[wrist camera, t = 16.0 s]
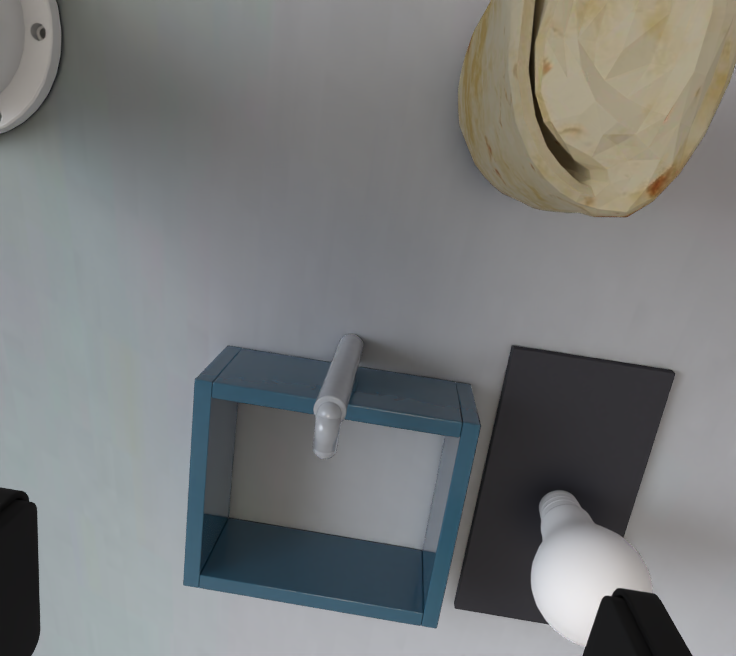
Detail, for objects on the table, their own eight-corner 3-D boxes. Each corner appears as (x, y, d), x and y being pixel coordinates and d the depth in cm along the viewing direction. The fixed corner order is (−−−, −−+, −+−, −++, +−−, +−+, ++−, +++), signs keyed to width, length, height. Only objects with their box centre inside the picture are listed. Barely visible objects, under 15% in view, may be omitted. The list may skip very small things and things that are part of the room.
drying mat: (454, 602, 43) (454, 608, 42) (511, 345, 37) (513, 348, 36) (591, 626, 42) (593, 632, 42) (672, 370, 36) (676, 373, 36)
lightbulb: (615, 521, 39) (690, 657, 29) (528, 550, 40) (569, 691, 30) (584, 445, 38) (650, 558, 27) (494, 478, 39) (525, 599, 28)
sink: (214, 526, 42) (151, 644, 32) (229, 314, 38) (161, 374, 27) (433, 563, 42) (440, 695, 32) (477, 353, 37) (501, 428, 27)
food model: (553, 197, 34) (731, 254, 15) (438, 184, 34) (469, 222, 15) (590, 11, 31) (871, -216, 12) (465, -3, 31) (545, -245, 12)
